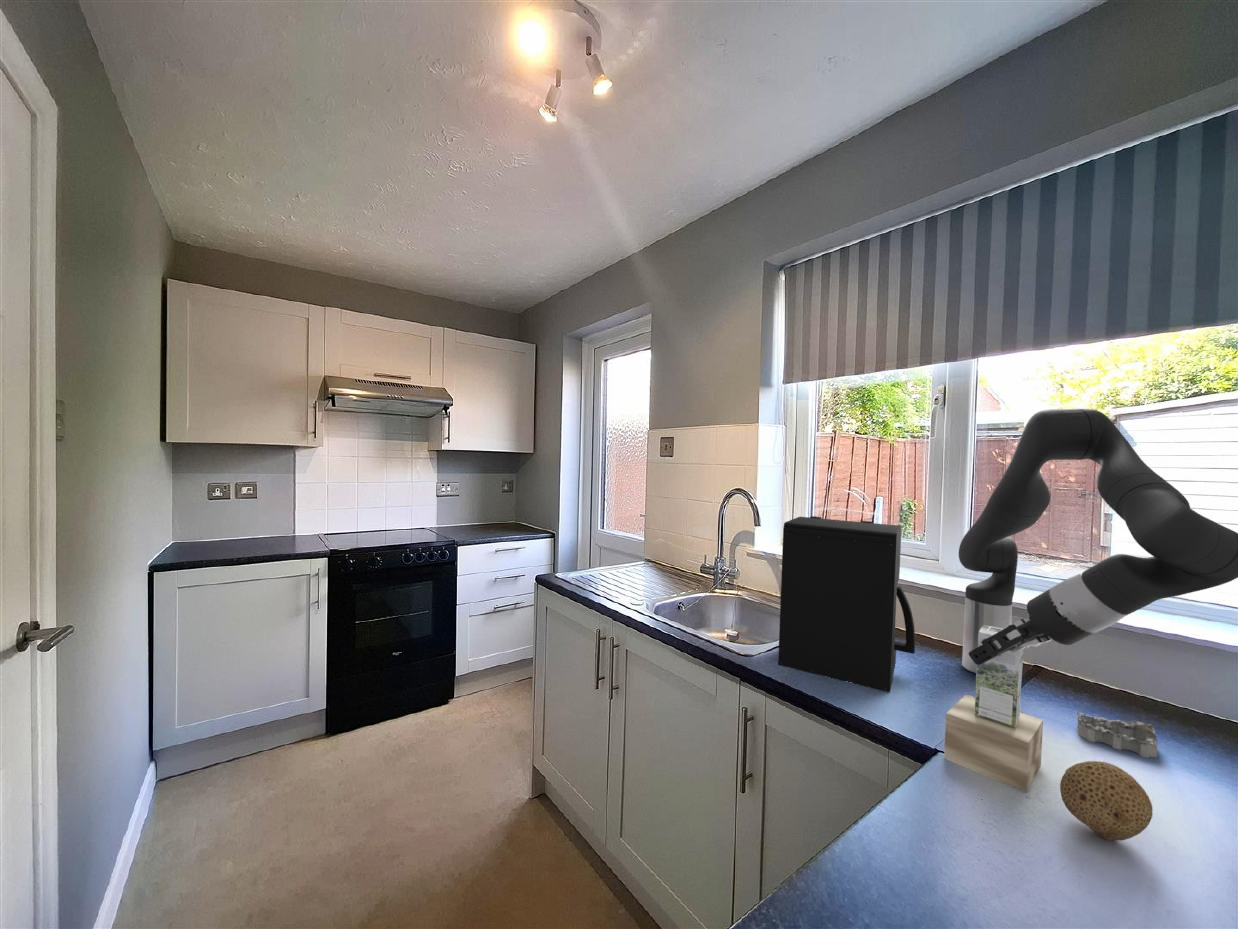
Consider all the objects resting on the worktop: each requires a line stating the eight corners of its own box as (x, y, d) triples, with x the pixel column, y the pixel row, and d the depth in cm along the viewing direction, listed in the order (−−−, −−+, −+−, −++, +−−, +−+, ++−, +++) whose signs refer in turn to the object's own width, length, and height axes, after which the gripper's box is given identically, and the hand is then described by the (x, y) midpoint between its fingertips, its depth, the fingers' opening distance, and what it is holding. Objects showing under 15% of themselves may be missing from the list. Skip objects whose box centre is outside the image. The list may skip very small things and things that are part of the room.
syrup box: (1020, 717, 84) (1025, 631, 84) (1016, 730, 80) (1021, 640, 80) (979, 704, 88) (983, 623, 88) (973, 716, 84) (977, 630, 84)
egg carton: (1156, 747, 91) (1157, 725, 91) (1158, 764, 86) (1160, 741, 85) (1076, 723, 98) (1077, 703, 98) (1074, 738, 93) (1075, 716, 93)
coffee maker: (914, 667, 122) (921, 525, 122) (911, 698, 106) (918, 534, 105) (796, 641, 138) (801, 514, 137) (777, 665, 121) (783, 521, 120)
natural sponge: (1128, 873, 62) (1132, 794, 62) (1043, 823, 70) (1047, 753, 70) (1163, 852, 66) (1167, 777, 65) (1078, 807, 74) (1082, 740, 74)
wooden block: (963, 737, 92) (965, 694, 92) (1040, 766, 84) (1043, 719, 84) (944, 759, 85) (946, 713, 85) (1025, 794, 77) (1028, 743, 76)
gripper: (1077, 582, 80) (994, 629, 91) (1030, 590, 74) (947, 640, 84) (1120, 625, 76) (1027, 670, 86) (1073, 638, 69) (979, 684, 80)
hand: (987, 655), depth 85 cm, fingers open, 8 cm apart
